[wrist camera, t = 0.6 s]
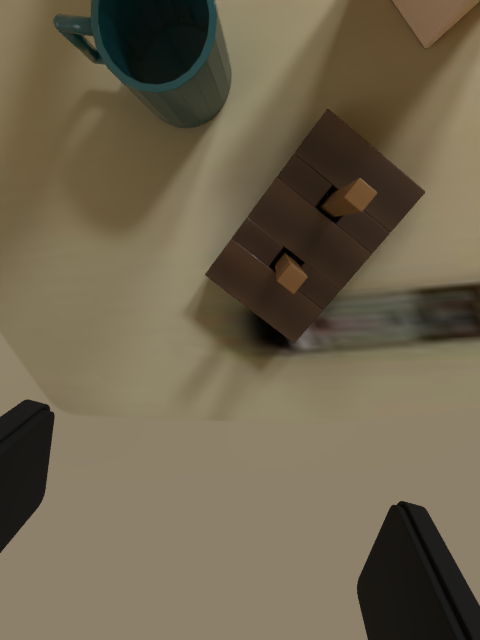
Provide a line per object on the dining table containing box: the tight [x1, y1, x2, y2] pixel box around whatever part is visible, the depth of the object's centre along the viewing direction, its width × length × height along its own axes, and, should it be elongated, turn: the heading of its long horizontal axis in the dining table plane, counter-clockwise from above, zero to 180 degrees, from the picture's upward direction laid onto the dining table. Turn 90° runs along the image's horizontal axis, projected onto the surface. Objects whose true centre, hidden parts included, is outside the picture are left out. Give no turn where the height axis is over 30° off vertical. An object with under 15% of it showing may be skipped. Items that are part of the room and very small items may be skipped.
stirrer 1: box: [275, 251, 308, 294], centre depth 29 cm, size 1×1×13 cm
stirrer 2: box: [317, 178, 377, 218], centre depth 27 cm, size 1×1×13 cm
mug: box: [53, 0, 231, 128], centre depth 27 cm, size 12×8×9 cm
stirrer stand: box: [205, 109, 425, 343], centre depth 32 cm, size 16×10×4 cm, turn 143°
